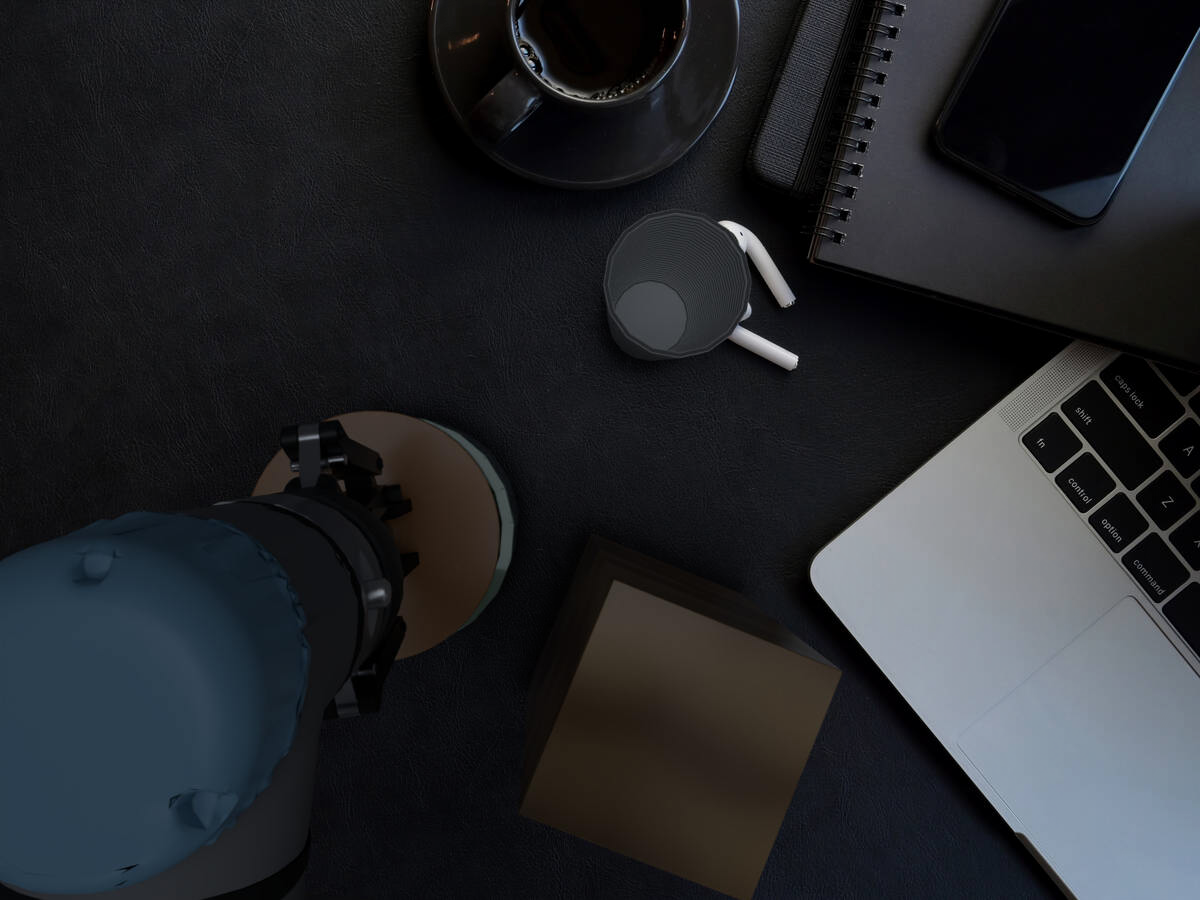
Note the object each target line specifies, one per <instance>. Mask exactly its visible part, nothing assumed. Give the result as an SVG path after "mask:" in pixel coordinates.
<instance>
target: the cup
mask: <svg viewBox="0 0 1200 900" xmlns="http://www.w3.org/2000/svg"><path fill="white" fill-rule="evenodd" d="M752 282H753V281H752V277H751V271H750V268H749V264H748V258H747V255H746V252H745V251H744V249H743V248H742V246H741V245H740V244H739V242H738V241H737V239H736V237H735V236H734V235H733V234H732V232H731V231H730V229H729V228H727V227H725V226H724V225H723V224H721V223H719V222H718V221H716V220H715V219H713V218H711V217H710V216H708V215H707V214H705V213H703V212H697V211H691V210H686V209H681V208H676V207H675V208H671V209H667V210H662V211H658V212H652V213H649V214H646V215H645V216H643V217H641V218H640V219H638V220H637V221H636V222H634V223H633V224H632V225H630V226H629V227H627V228H626V229H624V230H623V231H622V233H621V235H620V236H619V238H618V239H617V241H616V242H615V244H614V245H613V247H612V248H611V250H610V252H609V253H608V255H607V260H606V265H605V271H604V278H603V283H602V286H603V293H604V301H605V302H604V303H605V310H606V317H607V322H608V327H609V332H610V336H611V338H612V339H613V341H614V342H615V344H616V345H617V346H618V348H619V349H620V351H622V352H624V353H626V354H627V355H629V356H630V357H632V358H634V359H636V360H642V361H648V362H653V361H664V360H673V359H674V360H675V359H682V358H686V357H691V356H695V355H699V354H704V353H708V352H710V351H711V350H713V349H714V348H715V347H717V346H718V345H720V344H721V343H723V342H724V341H725V340H727V339H728V338H730V337H731V336H732V335H733V334H734V332H735V330H736V329H737V327H738V326H739V324H740V322H741V321H742V319H743V318H744V316H745V315H746V313H747V311H748V306H749V301H750V300H749V299H750V295H751V290H752V284H753V283H752Z"/></svg>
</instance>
